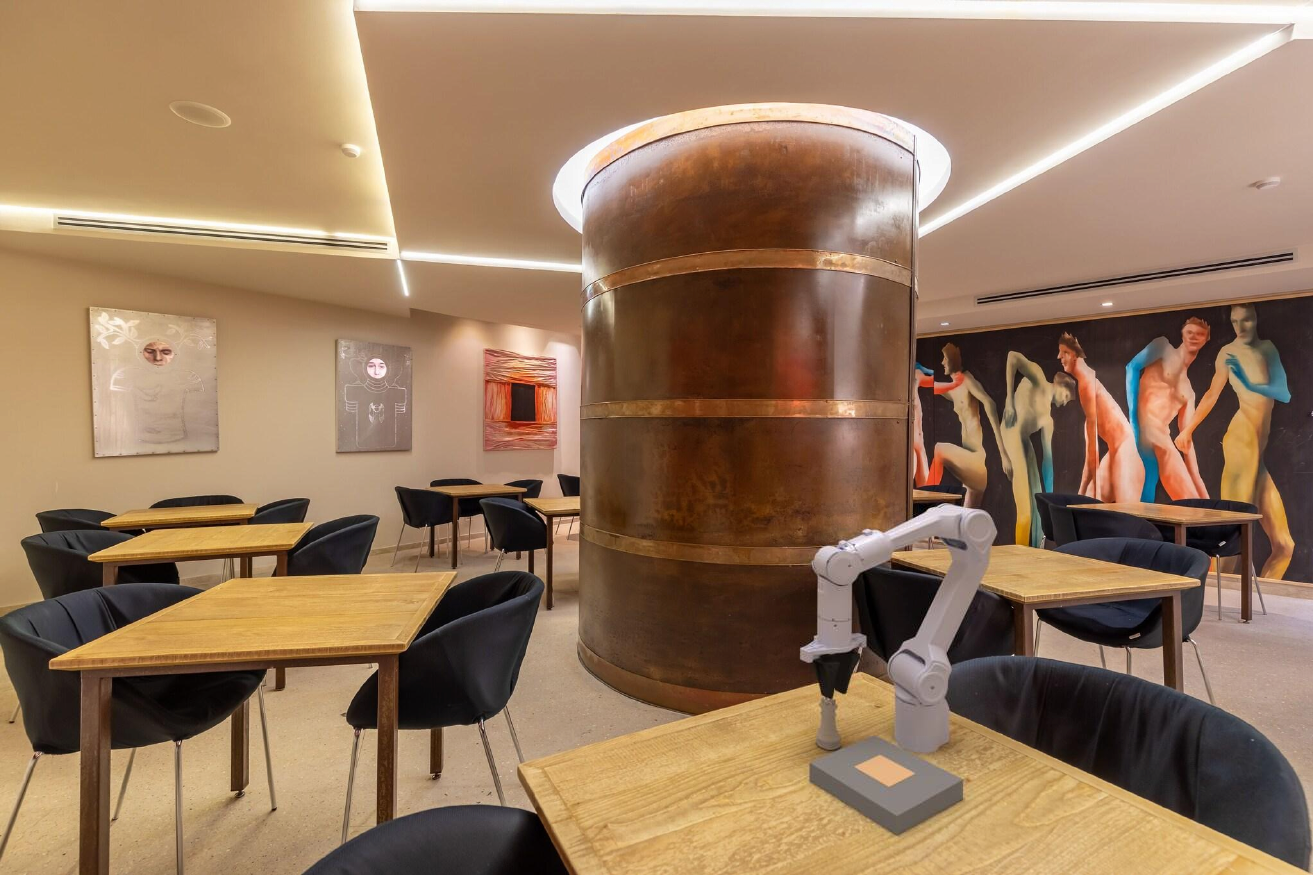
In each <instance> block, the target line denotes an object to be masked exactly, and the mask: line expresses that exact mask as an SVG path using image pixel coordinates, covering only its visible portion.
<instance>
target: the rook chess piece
mask: <svg viewBox="0 0 1313 875" xmlns="http://www.w3.org/2000/svg"><path fill="white" fill-rule="evenodd" d="M836 701H837V700H836V699H834V697H833V698H832V699H828V698H826V697H821V698H820V702H819V703H818V706H819V707H820V709H821V711H820V713H819V714H820V716H821V720H820V725H819V728H818V731H816V735H815V737H816V738H815V743H816V745H817V746H818V747H819V748H820V749H823V750H827V751H837V750H839V748H841V746H842V742H841V740H842V736H841V735H840V733H839V731H838V729H837V723H836V722H837V721H836V717H837V712H836V710H837V709H838V707H839V706H838V704H837V703H836Z"/></svg>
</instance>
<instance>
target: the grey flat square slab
mask: <svg viewBox="0 0 1313 875" xmlns="http://www.w3.org/2000/svg"><path fill="white" fill-rule="evenodd" d="M808 769H809V770H808V771H809V772H808V773H809V782H810V783H811V784H813V785H815V786H817V787H818V788H819V789H821V790H823V791H825V792H826V793H828V794H829V795H831V796H832V797H834V798H836V799H837V800H839V801H841V802H842V803H843V804H845V805H847V806H849V807H850V808H851V809H854V810H855V811H857V812H858V813H860V814H862V815H863V816H865V817H866V818H867V819H870V820H871V821H873V822H874V823H876V824H877V825H879V826H881V827H882V828H884V829H885V830H887V831H889V832H890V833H892V834H894V835H895V836H899V835H901V834H902V833H904V832H906V831H909V830H910V829H912V828H914V827H916V826H917V825H919V824H921V823H923V822H925V821H927V820H929V819H930V818H932V817H935V816H936V815H938V814H940V813H941V812H943V811H945V810H947V809H948V808H950V807H952V806H953V805H956V804H957V803H959V802H960V801H962V800H963V799H964V778H961V777H959V776H957V775H955V774H953V773H952V772H949V771H947V770H945V769H944V768H941V767H940V766H937V765H935V764H933V763H932V762H929V761H927V760H926V759H924V758H921V757H919V756H918V755H915V754H913V752H912V753H911V751H910V752H909V750H906V749H904V748H902V747H901V746H899V745H897V744H896V745H895V744H894V743H891V741H888V740H886V739H885V738H882V737H880V736H878V735H876V734H873V735H871V736H868V737H865V738H864V739H862V740H859V741H857V742H855V743H852V744H850V745H848V746H845V747H842V748H840V749H837V750H834V751H833V752H830V753H828V754H826V755H824V756H822V757H819V758H817V759H813V760H812V761H810V762H809V768H808Z"/></svg>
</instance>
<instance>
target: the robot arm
mask: <svg viewBox="0 0 1313 875" xmlns="http://www.w3.org/2000/svg"><path fill="white" fill-rule="evenodd" d="M997 535H998V531H997V528H996V525H995V522H994V520H993V518H992V517H991V515H990V514H989V513H988V512H987V511H986V510H983V509H977V508H968V507H963V506H959V505H956V504H955V505H954V504H952V503H946V502H945V503H942V504H939V505H937V506H934V507H930V508H928V509H927V510H926V511H925V512H923V513H922V514H919V515H918V516H916V517H913V518H912V519H909V520H908V521H906V522H903V523H901V524H899V525H897V526H895V527H893V528H891V529H889V530H887V531H885V532H883V531H880V530H877V529H869V528H865V529H864V530H862V531H861V535H858V536H856V537H854V538H852V539H849V540H847V541H846V540H843V539H842V540H840V541H839V542H838V544H837V546H833V545H826V546H822V547H821V548H819V550H818V551H817V552H816V554H815V555H814V558H813V560H811V567H812V570H813V571H814V573H815V574H816V576H817V619H816V620H817V624H816V625H817V629H816V630H817V634H816V635H814V636H813V641H812V642H810V643H809V644H807V645H805V646H802V647H800V649H799V651H800V653H799V659H800V660H801V661H803V662H805V663H810V665H811V666H812V668H813V670H814V673H815V675H816V679H817V683H818V686H819V690H820V695H821V696H822V697H823V698H825V697H826V698H828V700H830V699H832V698H833V699H834V696H835V695H834V694H835V691H836V692H838V693H840V694H841V695H846V694H847V692H848V689H849V685H850V681H851V679H852V675H853V672H854V670H855V668H856V666H857V664H858V663H859V661H861V653H859V652H858V651H855V650H854V649H855V648H859V647H860V648H866V647H867V635H864V634H861V633H859V632H857V633H852V624H853V623H852V622H853V620H852V619H853V618H852V617H853V616H852V612H853V606H852V605H853V600H852V598H853V597H852V596H853V595H852V594H853V592H852V591H853V586H852V585H853V583H854V581H856V580H857V578H858V576H859V574H861V573H863V572H865V571H867V570H870V569H872V568H875V567H876V566H878V565H881V564H884V563H885V562H888V561H890V560H891V559H892V556H893V553H894V551H895V550H899V549H901V548H904V547H907V546H911V545H912V544H913V545H914V544H915V543H918V542H921V541H924V540H926V539H929V538H932V537H938V538H939V539H940V541H941V542H942V543H943V545H944V546H945V547H946V548H947V550H948V552H949V554H950V556H951V558H952V559H951V560H952V561H951V563H950V565H949V567H948V570H947V572H946V574H945V576H944V577H943V580H942V582H941V584H940V585H939V587H938V590H937V591H936V594H935V596H934V599H933V601H932V603H931V605H930V607H929V608H928V610H927V613H926V615H925V617H924V619H923V621H922V623H921V625H920V627H919V629H918V631H917V632H916V635H915V637H912V638H910V639H908V640H905V641H903V642H902V644H901V645H900V647H899V649H898V650H897V651H896V652H895V653H894V654H892V656H891V657H889V660H888V661H887V662H888V663H887V668H886V669H887V675H888V677H889V679H890V680H891V681H892V682H893V688H894V741H895V744H896V745H897V746H898V747H900V748H902V749H904V750H906V751H908V752H909V751H910V752H912V753H913V752H914V753H916V754H917V753H918V754H932V753H935V752H936V751H938V749H939V748H940V747H941V746H943V745H945V744H947V743H949V742H950V718H951V717H950V712H951V711H950V707H949V704H948V702H947V700H946V698H945V697H946V695H947V692H948V689H949V688H948V687H949V679H950V675H951V673H952V670H953V669H952V666H951V663H950V660H949V658H948V655H947V652H948V650H949V649H950V646H951V644H952V643H953V641H954V639H955V636H956V634H957V632H958V630H959V628H960V626H961V624H962V621H963V620H964V618H965V617H966V616H965V615H966V613H967V611H968V609H969V607H970V605H971V603H972V601H973V599H974V597H975V595H976V593H977V590H978V588H979V587H980V584H981V582H982V581H983V578H984V576H985V574H986V572H987V570H988V568H989V565H990V561H991V560H990V559H991V558H990V557H991V549H992V545H993V543H994V541H995V539H996V537H997Z"/></svg>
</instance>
